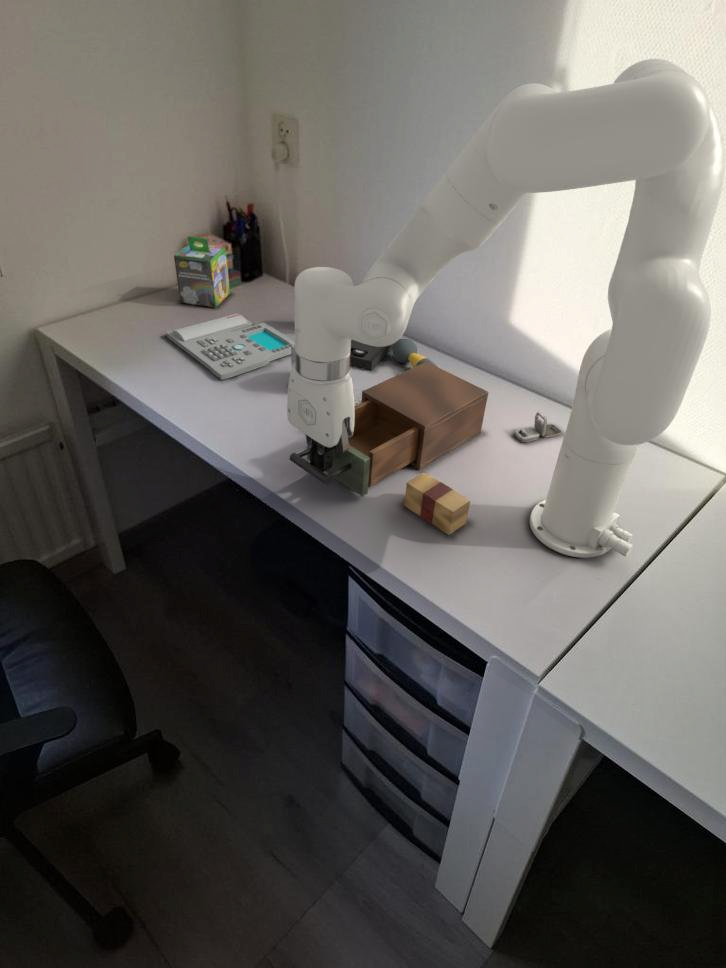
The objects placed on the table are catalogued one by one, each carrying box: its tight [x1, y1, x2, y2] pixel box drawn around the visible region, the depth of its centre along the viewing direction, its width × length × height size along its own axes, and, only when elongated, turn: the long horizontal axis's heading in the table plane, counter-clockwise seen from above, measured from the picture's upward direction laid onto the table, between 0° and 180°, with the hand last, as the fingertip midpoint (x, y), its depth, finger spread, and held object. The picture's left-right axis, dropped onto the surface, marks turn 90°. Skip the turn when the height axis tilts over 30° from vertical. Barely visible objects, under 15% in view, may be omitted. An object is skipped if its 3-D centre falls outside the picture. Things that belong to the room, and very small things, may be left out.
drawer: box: [288, 400, 421, 497], centre depth 107 cm, size 21×13×7 cm, turn 135°
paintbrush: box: [391, 338, 439, 368], centre depth 135 cm, size 20×5×5 cm, turn 38°
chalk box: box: [173, 235, 231, 309], centre depth 155 cm, size 9×9×15 cm
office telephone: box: [166, 313, 295, 381], centre depth 141 cm, size 23×3×20 cm
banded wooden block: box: [403, 472, 471, 536], centre depth 100 cm, size 9×4×5 cm, turn 45°
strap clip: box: [514, 411, 562, 443], centre depth 120 cm, size 8×3×4 cm, turn 113°
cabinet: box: [361, 362, 489, 471], centre depth 116 cm, size 17×14×9 cm
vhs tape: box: [350, 339, 393, 371], centre depth 142 cm, size 14×8×2 cm, turn 155°
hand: (320, 468), depth 103 cm, fingers closed
